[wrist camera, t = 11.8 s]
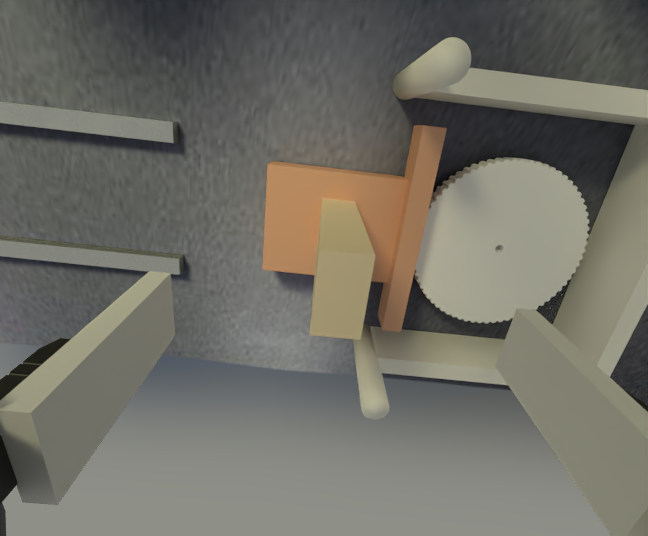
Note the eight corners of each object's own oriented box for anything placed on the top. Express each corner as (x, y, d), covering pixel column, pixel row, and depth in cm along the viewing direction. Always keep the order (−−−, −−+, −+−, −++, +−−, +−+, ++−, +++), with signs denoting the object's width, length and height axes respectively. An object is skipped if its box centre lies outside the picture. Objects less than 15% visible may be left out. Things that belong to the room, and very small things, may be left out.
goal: (350, 339, 34) (359, 418, 25) (395, 68, 26) (434, 34, 16) (553, 359, 35) (634, 443, 26) (664, 102, 26) (849, 88, 17)
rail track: (-37, 247, 31) (-61, 255, 29) (-83, 91, 26) (-114, 88, 24) (184, 270, 32) (175, 279, 30) (177, 122, 27) (166, 121, 25)
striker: (265, 297, 32) (221, 417, 19) (275, 109, 26) (221, 90, 13) (393, 310, 33) (438, 437, 19) (431, 127, 27) (536, 128, 13)
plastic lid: (590, 158, 28) (614, 161, 26) (545, 311, 33) (561, 325, 31) (416, 154, 28) (424, 156, 26) (398, 307, 33) (404, 321, 31)
